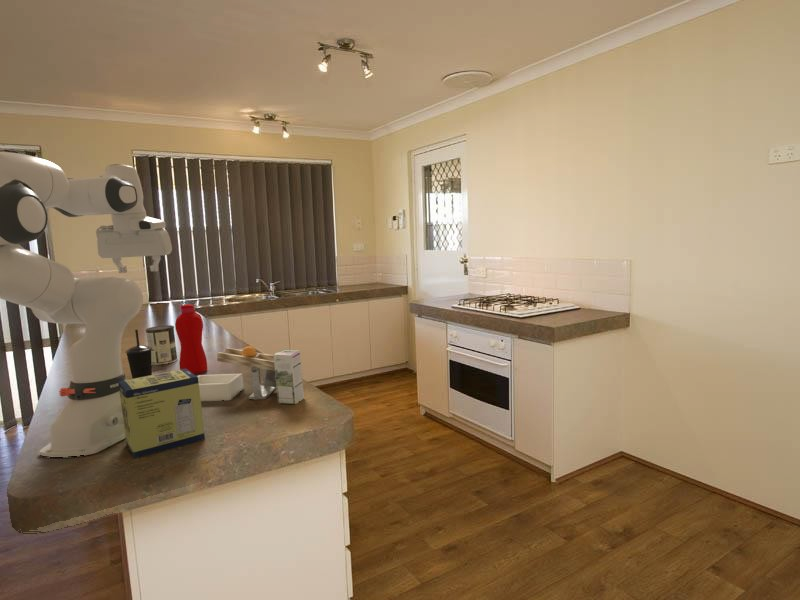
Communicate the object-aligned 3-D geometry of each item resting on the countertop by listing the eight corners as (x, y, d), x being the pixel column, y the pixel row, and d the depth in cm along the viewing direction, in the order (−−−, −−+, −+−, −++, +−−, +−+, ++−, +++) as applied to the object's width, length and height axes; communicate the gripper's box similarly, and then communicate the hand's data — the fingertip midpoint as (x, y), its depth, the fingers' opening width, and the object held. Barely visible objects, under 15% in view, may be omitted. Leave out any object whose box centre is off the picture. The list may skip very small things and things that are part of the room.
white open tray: (230, 400, 146) (228, 383, 145) (184, 401, 147) (182, 385, 146) (243, 388, 157) (242, 373, 156) (200, 390, 158) (198, 375, 157)
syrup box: (304, 398, 144) (300, 349, 143) (295, 405, 139) (291, 354, 137) (287, 397, 146) (283, 349, 144) (276, 404, 140) (272, 354, 138)
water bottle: (213, 372, 179) (206, 304, 176) (180, 377, 175) (172, 307, 172) (212, 366, 188) (205, 301, 185) (181, 371, 184) (173, 304, 181)
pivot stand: (265, 399, 145) (262, 366, 144) (248, 399, 146) (245, 367, 144) (276, 387, 157) (274, 356, 156) (261, 387, 157) (258, 357, 156)
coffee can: (167, 357, 208) (164, 324, 206) (183, 360, 202) (179, 325, 200) (144, 363, 199) (140, 329, 197) (159, 366, 194) (155, 330, 192)
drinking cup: (125, 392, 160) (117, 331, 157) (146, 385, 166) (139, 327, 164) (140, 395, 156) (132, 332, 154) (161, 388, 163) (154, 328, 160)
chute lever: (293, 374, 161) (296, 352, 160) (281, 388, 147) (284, 363, 146) (233, 364, 162) (235, 342, 161) (215, 377, 147) (217, 352, 146)
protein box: (125, 445, 117) (116, 380, 115) (194, 427, 126) (187, 367, 124) (133, 459, 108) (124, 390, 106) (206, 439, 118) (199, 375, 116)
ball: (252, 361, 148) (253, 348, 147) (239, 360, 148) (240, 347, 148) (257, 358, 152) (257, 345, 151) (244, 357, 152) (245, 344, 151)
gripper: (87, 226, 138) (97, 275, 142) (159, 223, 137) (167, 272, 141) (102, 225, 145) (110, 271, 148) (170, 221, 144) (177, 268, 147)
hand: (139, 272), depth 144 cm, fingers open, 8 cm apart
